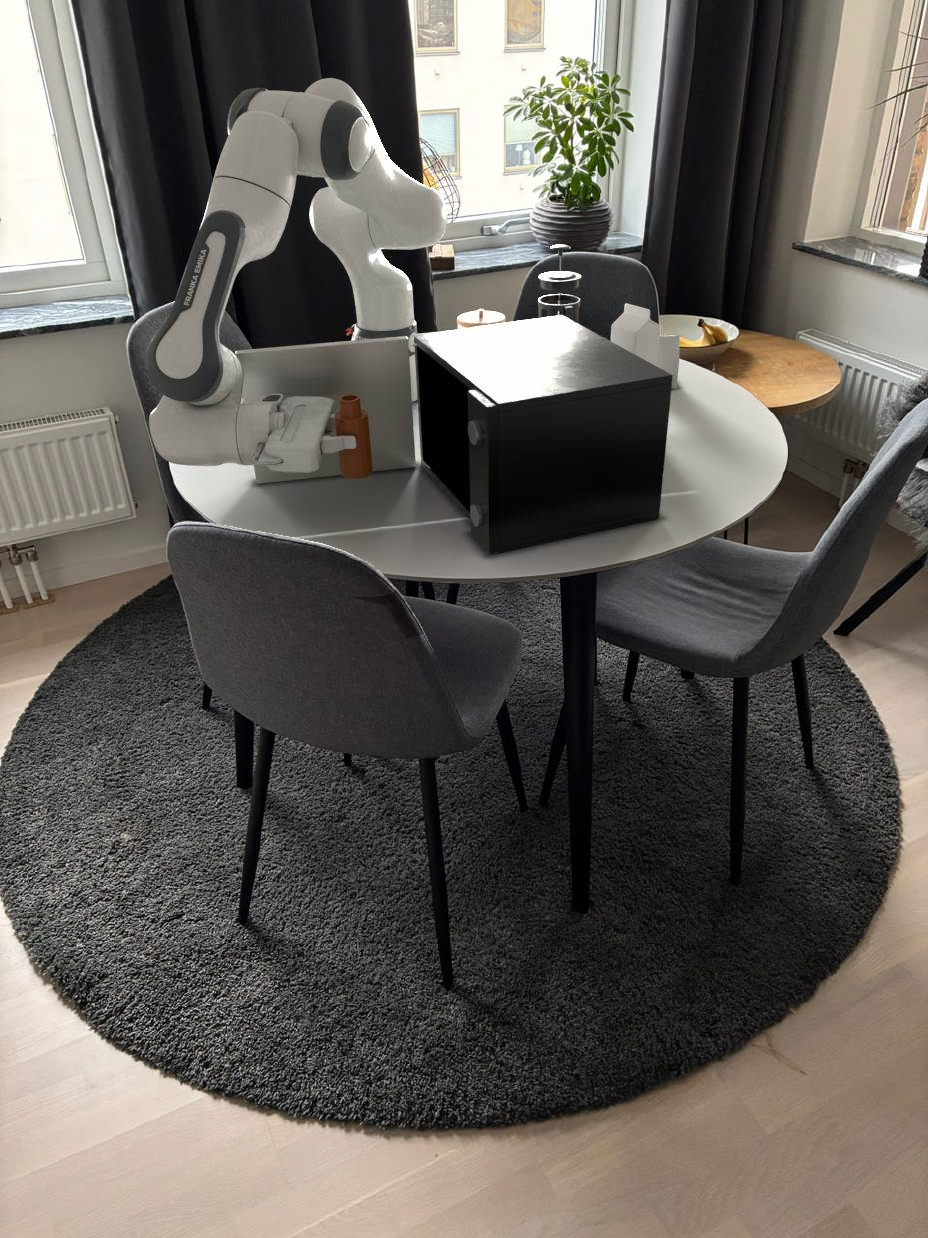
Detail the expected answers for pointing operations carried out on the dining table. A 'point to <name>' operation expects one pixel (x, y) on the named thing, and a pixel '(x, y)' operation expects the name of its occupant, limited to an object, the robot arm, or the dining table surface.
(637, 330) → the milk
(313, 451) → the robot arm
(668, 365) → the white small box
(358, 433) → the bottle
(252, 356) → the microwave door
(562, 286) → the french press
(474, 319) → the trinket box
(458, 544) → the dining table surface
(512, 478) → the microwave
